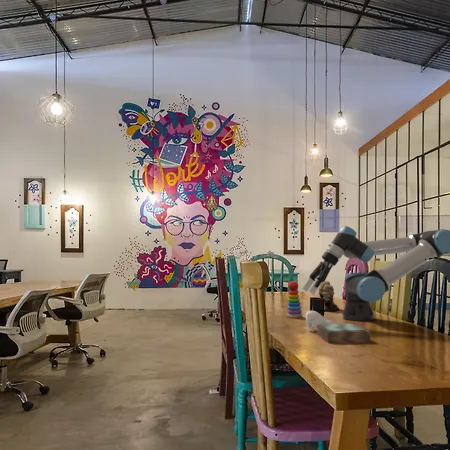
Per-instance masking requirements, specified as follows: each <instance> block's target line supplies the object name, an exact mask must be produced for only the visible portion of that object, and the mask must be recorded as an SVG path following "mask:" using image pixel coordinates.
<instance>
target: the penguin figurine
mask: <svg viewBox="0 0 450 450" xmlns="http://www.w3.org/2000/svg"><path fill="white" fill-rule="evenodd" d="M304 317H305V325H306V327H307V329H308V330H309V331H310V332H312V333H314V332H315V330H314V329H316V330H317V325H320V324H334V323H333V321H332V320H329V319H327V318H325V317H324V316H323V315H321V313H319V312H317V311H315V310H307V312H306V313H305V315H304Z"/></svg>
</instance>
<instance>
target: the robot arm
mask: <svg viewBox="0 0 450 450" xmlns="http://www.w3.org/2000/svg"><path fill="white" fill-rule="evenodd" d="M357 233H358V232H357V231H356V230H355V229H353V228H352V227H350V226H348V225H344V226H342V227H341V228H340V230H339V231H338V232H337V234H336V235H335V237H334V238H333V240H332V242H330V243H329V244H328V247H327V249H326V251H324V252H323V254H322V256H321V259H323V261H320V262H319V264H318V265H317V266H316V267H315V268H314V270H313V271H312V272H311V273H310V274H309V278H308V279H307V281H306V282H305V284H304V285H303V286H302V290H303V291H305V292H309V293H310V294H312V295H315V293H316V292H317V291H318V290H319V287H320V285H321V283H322V282H324V281H327V278H328V276H329V274H330V272H331V269H333V267H334V266H336V265H337V263H338V262H339V261H340V259H341V258H342V256H344V257H345V258H347V259H358V260H359V261H361V262H363V263H364V264H366V263H369V262H370V261H371V260H372V259H373V257H374V256H381V255H392V254H400V253H401V254H402V253H404V254H402V255H400V256H399V257H397V258H395V259H394V260H393V261H391V262H389V263H388V264H386V265H385V266H383V267H382V268H380V269H372V270H371V271H369V272H361V271H360V272H349V273H346V274H345V280H344V281H345V305H344V308H343V313H342V318H343V319H345V320H347V321H358V322H359V321H363V322H364V321H365V322H367V321H373V320H375V312H374V310H373V308H372V305H371V302H373V303H374V302H378V301H379V300H381V299H382V298H383V297H384V296H385V293H387V292H388V291H389V290H390V286H391V285H393V284H394V283H396V282H397V281H399V280H401V279H402V278H404V277H405V276H407V275H408V274H409V273H411V272H413V271H414V270H416V269H418V268H419V267H421V266H422V265H424V264H425V263H427V262H428V261H427V260H429V258H434V257H439V258H441V257H442V256H444V255H450V230H449V229H445V228H444V229H443V228H441V229H436V230H435V229H434V230H427V231H423V232H419V233H414V234H409V235H407V236H406V237H396V238H389V239H378V240H371V241H368V240H367V241H362V240H360V239H359V238H357ZM425 259H426V260H425ZM423 260H424V261H423ZM426 261H427V262H426ZM429 261H430V260H429Z"/></svg>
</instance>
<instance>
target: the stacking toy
mask: <svg viewBox="0 0 450 450" xmlns="http://www.w3.org/2000/svg"><path fill="white" fill-rule="evenodd" d="M298 288H299V284H298V282H297V281H296V280H295V281H294V280H292V281H290V282H289V283H288V289H289V291H288V298H287V299H288V302H287V314H286V316H287V318H291V319H299V318H302V317H303V314H302V312H303V311H302V306H301V305H302V303H301V302H300V299H301V298H299V297H300V295H299V290H298Z"/></svg>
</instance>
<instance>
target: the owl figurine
mask: <svg viewBox="0 0 450 450" xmlns="http://www.w3.org/2000/svg"><path fill="white" fill-rule="evenodd" d="M334 290H335V288H334V287H333V285H331V282H330V281H328V280H325V281H324V282H322V283H321V285H320V286H319V288H318V296H319V298H320V299H321V298H324V299H325V311H324V312H331V313H333V312H334V313H336V312H339V311H340V308H339V307H338V305H337V304H336V303H335V302H334V295H335V291H334Z"/></svg>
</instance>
